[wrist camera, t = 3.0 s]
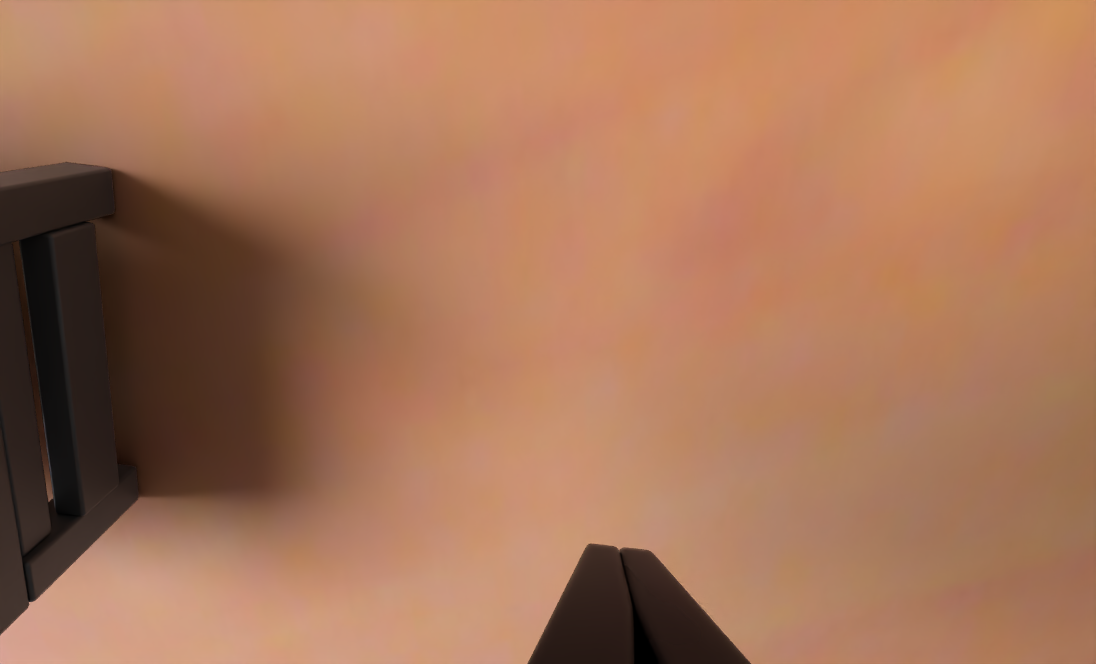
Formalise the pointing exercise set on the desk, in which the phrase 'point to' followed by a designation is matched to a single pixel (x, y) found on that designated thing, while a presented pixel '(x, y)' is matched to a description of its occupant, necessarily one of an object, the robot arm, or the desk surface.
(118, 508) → the chair
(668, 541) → the desk surface
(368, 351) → the desk surface
